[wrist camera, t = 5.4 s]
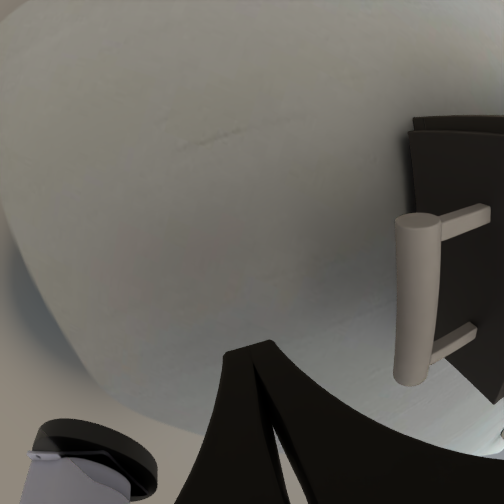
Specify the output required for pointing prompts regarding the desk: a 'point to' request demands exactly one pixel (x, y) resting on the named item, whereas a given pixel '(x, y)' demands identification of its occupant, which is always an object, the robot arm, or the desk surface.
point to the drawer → (453, 260)
